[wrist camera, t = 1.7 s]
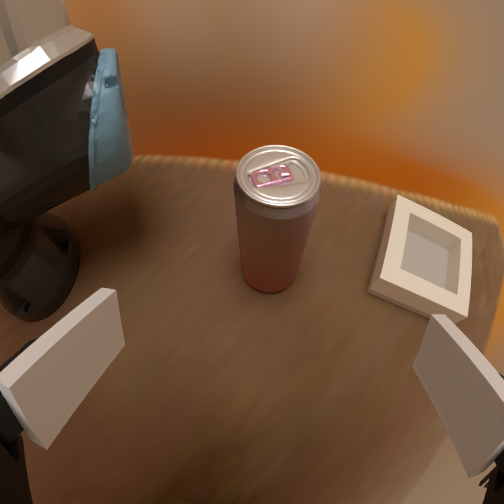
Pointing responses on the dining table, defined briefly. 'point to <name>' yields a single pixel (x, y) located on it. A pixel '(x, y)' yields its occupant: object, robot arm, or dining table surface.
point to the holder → (423, 262)
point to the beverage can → (274, 213)
